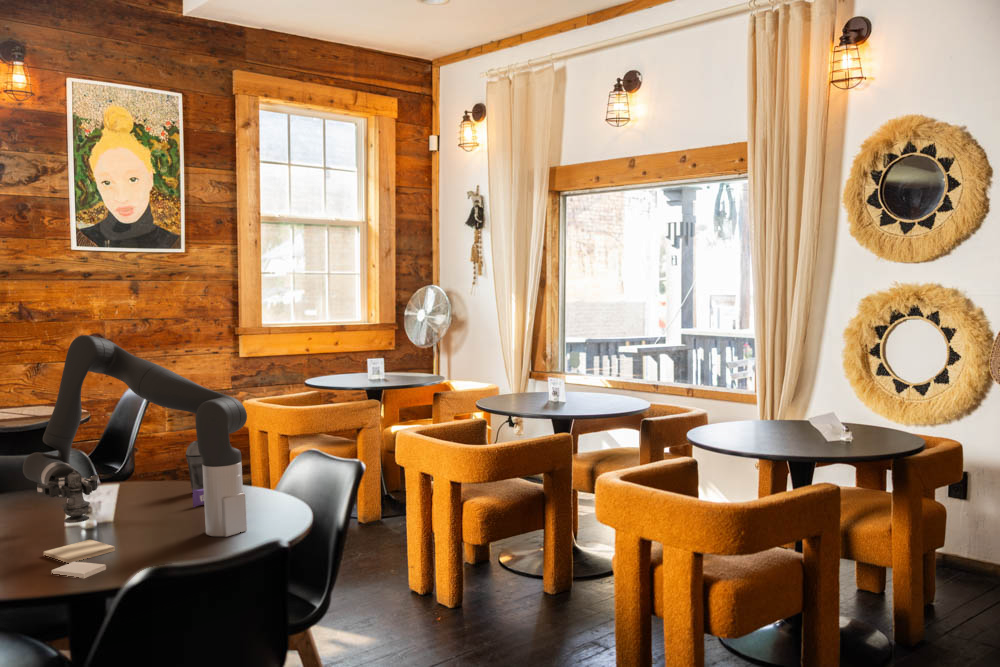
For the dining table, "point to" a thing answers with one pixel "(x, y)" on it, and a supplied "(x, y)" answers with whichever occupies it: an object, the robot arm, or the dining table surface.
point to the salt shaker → (75, 500)
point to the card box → (79, 569)
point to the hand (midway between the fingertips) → (78, 492)
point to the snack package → (198, 497)
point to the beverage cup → (195, 466)
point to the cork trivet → (79, 551)
